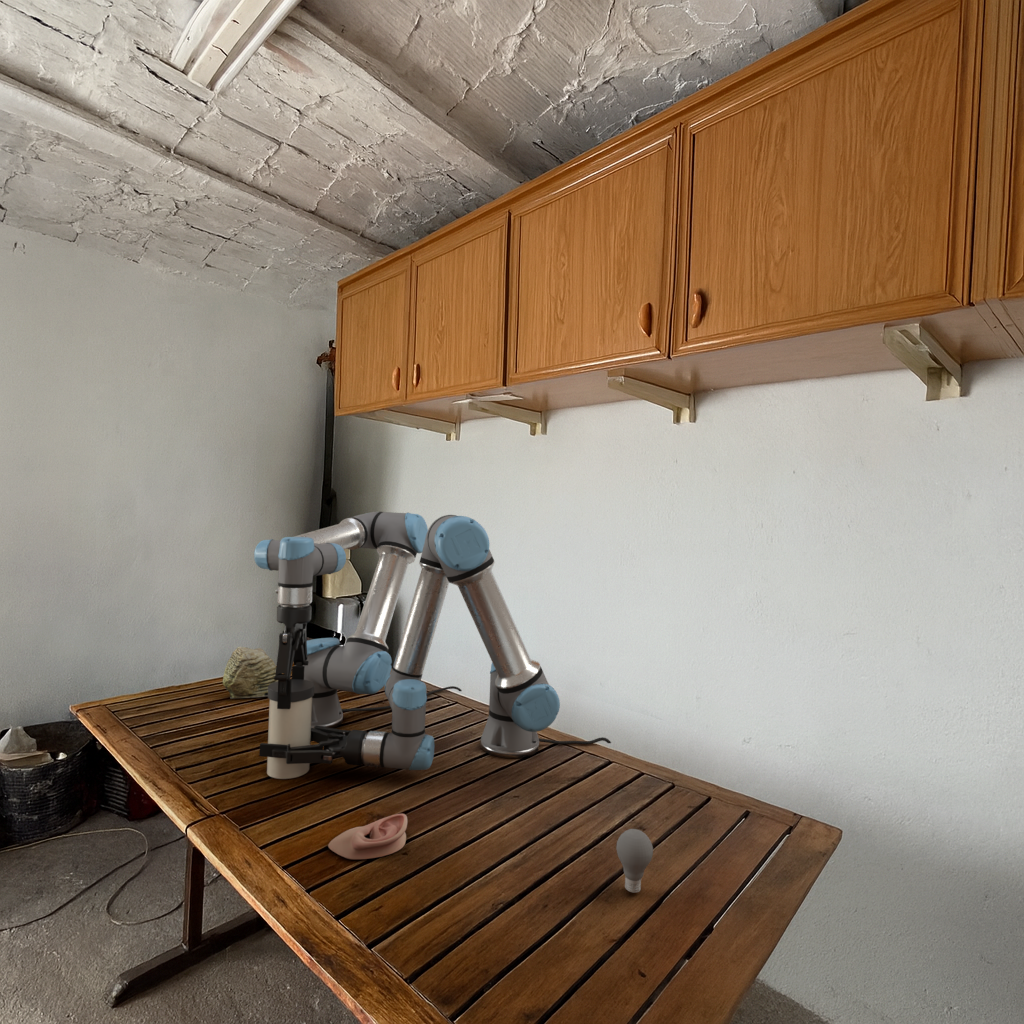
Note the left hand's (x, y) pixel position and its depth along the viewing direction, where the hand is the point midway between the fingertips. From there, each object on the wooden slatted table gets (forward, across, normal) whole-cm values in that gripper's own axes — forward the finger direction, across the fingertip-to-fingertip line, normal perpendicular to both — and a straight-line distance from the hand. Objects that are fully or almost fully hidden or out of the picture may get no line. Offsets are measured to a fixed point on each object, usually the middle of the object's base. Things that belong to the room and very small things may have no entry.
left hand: (290, 700), depth 146 cm
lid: (-3, 0, 0) cm, 3 cm away
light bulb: (+16, +45, +69) cm, 84 cm away
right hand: (+10, -1, -4) cm, 11 cm away
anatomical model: (+16, +31, +23) cm, 42 cm away
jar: (+16, 0, 0) cm, 16 cm away
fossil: (+16, -54, -26) cm, 62 cm away
